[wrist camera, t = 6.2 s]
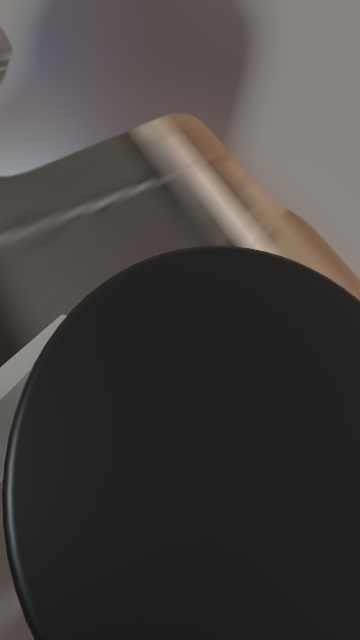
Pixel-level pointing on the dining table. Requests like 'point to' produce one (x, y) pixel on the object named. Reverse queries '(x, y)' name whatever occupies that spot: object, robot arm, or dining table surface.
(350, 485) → the jar
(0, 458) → the robot arm
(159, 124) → the dining table surface
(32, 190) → the dining table surface
